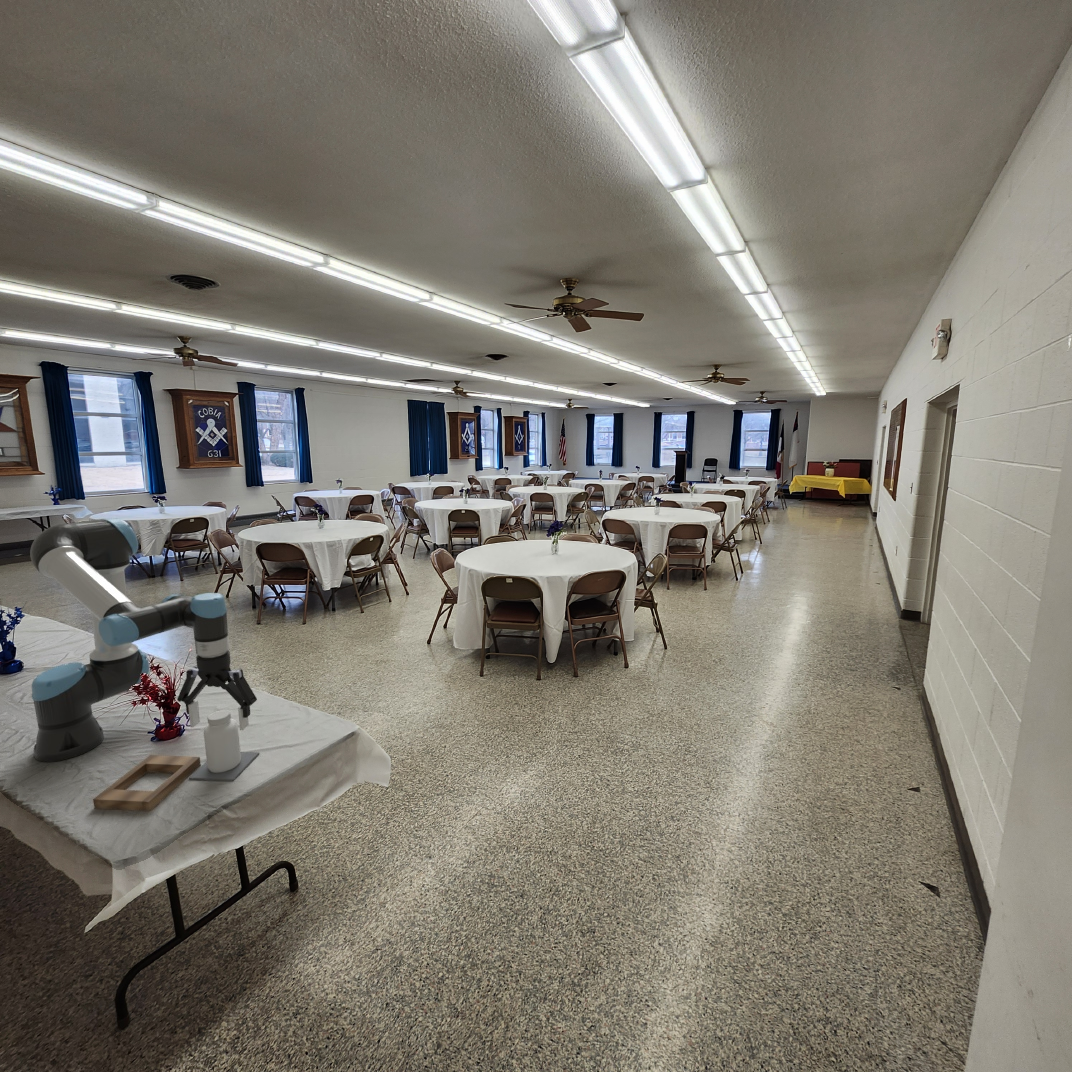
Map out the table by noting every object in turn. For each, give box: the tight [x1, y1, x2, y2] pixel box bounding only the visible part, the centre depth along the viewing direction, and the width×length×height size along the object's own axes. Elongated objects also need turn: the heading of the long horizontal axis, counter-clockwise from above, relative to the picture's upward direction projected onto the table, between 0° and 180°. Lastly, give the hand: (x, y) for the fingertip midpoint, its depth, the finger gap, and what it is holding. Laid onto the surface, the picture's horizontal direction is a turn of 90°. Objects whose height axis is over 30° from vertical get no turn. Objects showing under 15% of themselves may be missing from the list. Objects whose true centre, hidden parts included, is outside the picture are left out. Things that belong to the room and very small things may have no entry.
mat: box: [188, 751, 260, 782], centre depth 144 cm, size 12×12×1 cm
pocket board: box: [92, 754, 202, 812], centre depth 136 cm, size 14×18×2 cm
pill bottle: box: [203, 709, 242, 773], centre depth 143 cm, size 8×8×15 cm
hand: (219, 726), depth 142 cm, fingers open, 13 cm apart
